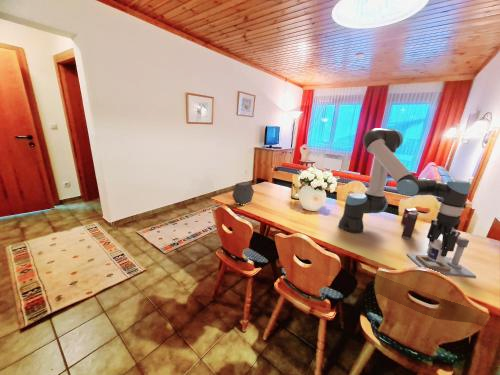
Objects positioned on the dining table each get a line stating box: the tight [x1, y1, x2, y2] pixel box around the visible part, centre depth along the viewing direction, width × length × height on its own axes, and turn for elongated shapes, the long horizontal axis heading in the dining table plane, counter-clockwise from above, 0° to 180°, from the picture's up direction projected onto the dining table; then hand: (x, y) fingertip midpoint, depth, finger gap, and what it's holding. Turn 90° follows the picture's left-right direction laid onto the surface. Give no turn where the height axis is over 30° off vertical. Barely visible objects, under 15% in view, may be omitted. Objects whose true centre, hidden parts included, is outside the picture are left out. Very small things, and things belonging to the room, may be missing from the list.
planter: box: [231, 181, 255, 206], centre depth 171 cm, size 17×8×21 cm
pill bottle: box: [426, 238, 442, 262], centre depth 100 cm, size 5×5×10 cm
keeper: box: [441, 233, 470, 248], centre depth 105 cm, size 4×17×3 cm, turn 175°
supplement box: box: [401, 211, 419, 240], centre depth 129 cm, size 9×5×16 cm, turn 137°
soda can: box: [400, 207, 419, 227], centre depth 146 cm, size 7×7×12 cm
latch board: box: [406, 245, 477, 278], centre depth 101 cm, size 22×14×12 cm, turn 85°
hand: (434, 257), depth 101 cm, fingers closed on pill bottle, 5 cm apart
